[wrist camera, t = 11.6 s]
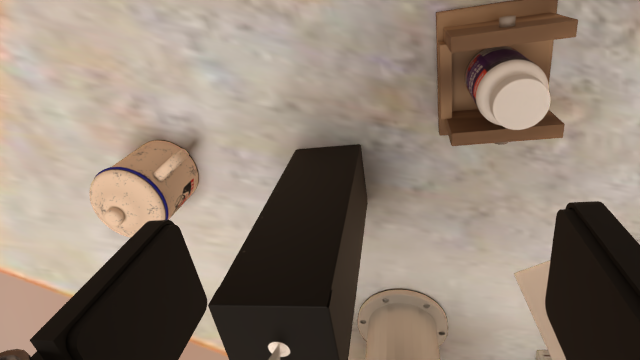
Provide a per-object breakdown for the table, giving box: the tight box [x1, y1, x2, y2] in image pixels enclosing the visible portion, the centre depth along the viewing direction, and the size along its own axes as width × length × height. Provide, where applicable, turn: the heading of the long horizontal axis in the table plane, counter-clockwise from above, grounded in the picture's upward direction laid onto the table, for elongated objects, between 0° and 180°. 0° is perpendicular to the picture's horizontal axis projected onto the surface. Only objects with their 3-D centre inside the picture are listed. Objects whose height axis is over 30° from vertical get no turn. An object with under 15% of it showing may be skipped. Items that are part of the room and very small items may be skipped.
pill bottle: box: [465, 46, 551, 130], centre depth 33 cm, size 5×5×10 cm
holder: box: [436, 0, 578, 146], centre depth 35 cm, size 12×10×7 cm
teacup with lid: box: [90, 140, 198, 237], centre depth 45 cm, size 12×9×12 cm
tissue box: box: [208, 145, 367, 360], centre depth 35 cm, size 8×8×28 cm
